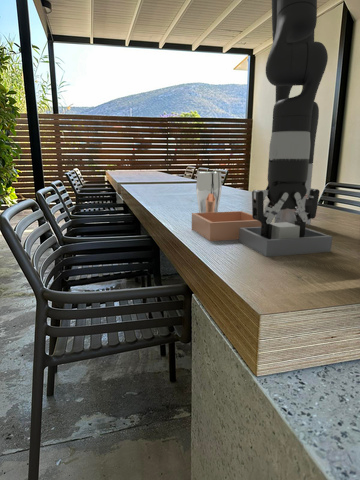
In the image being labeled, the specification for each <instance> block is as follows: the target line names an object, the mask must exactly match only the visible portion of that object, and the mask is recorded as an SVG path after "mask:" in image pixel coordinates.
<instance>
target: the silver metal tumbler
mask: <svg viewBox="0 0 360 480" xmlns="http://www.w3.org/2000/svg"><path fill="white" fill-rule="evenodd" d="M222 185H223V184H222V172H221V171H197V173H196V189H195V190H196V191H195V192H196V198H197V206H198V213H207V212H219V206H220V203H221V197H222Z"/></svg>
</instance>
